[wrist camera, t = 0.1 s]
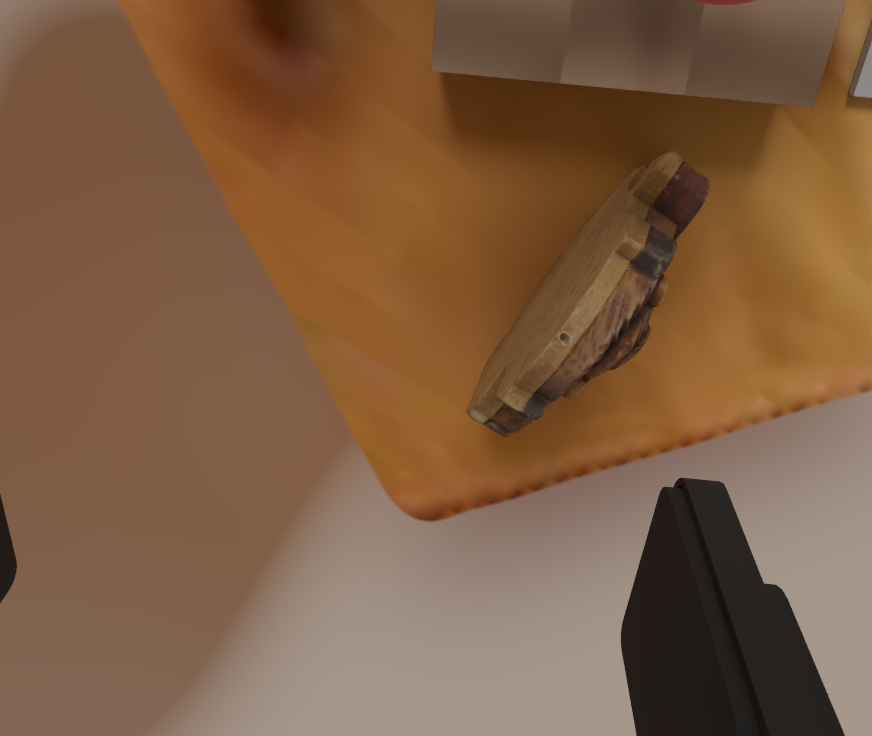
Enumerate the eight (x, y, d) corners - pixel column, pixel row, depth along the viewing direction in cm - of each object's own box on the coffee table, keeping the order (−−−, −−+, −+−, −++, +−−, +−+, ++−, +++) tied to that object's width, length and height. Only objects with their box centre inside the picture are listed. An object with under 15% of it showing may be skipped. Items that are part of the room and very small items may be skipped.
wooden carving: (533, 402, 47) (543, 518, 39) (462, 370, 46) (457, 481, 38) (703, 149, 39) (763, 223, 31) (622, 105, 38) (660, 169, 30)
